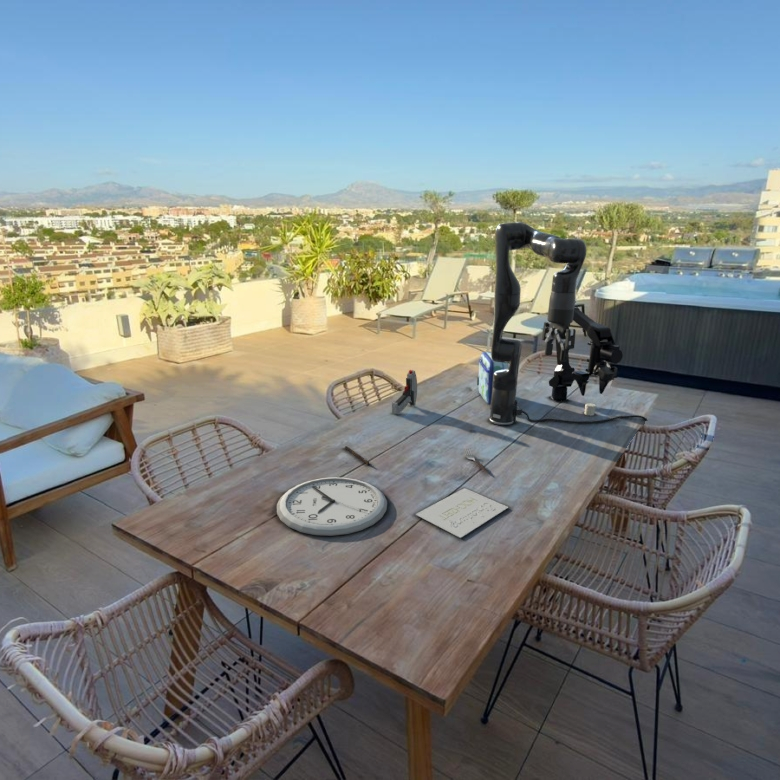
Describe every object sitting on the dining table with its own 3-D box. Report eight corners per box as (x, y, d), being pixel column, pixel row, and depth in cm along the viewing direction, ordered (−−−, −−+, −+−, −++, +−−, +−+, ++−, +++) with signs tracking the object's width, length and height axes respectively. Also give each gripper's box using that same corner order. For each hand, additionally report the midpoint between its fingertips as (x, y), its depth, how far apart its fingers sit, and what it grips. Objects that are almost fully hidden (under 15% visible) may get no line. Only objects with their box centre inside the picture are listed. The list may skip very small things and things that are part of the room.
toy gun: (391, 378, 208) (412, 368, 219) (392, 415, 214) (412, 403, 225) (395, 379, 207) (417, 369, 218) (396, 416, 212) (417, 405, 223)
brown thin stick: (344, 448, 179) (344, 445, 179) (346, 448, 179) (346, 445, 179) (367, 464, 167) (367, 462, 167) (368, 464, 167) (368, 461, 167)
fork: (483, 474, 162) (483, 469, 161) (463, 454, 176) (463, 448, 176) (491, 474, 162) (491, 468, 162) (470, 453, 177) (470, 447, 176)
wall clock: (392, 527, 129) (268, 531, 127) (391, 533, 130) (269, 537, 127) (383, 473, 158) (282, 475, 155) (383, 478, 158) (282, 480, 156)
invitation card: (464, 487, 153) (508, 506, 143) (464, 488, 153) (508, 507, 143) (415, 513, 138) (460, 537, 128) (415, 514, 138) (460, 538, 128)
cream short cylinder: (595, 413, 218) (597, 404, 216) (592, 416, 215) (593, 407, 213) (586, 411, 220) (587, 402, 219) (582, 414, 217) (584, 404, 216)
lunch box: (475, 390, 246) (478, 346, 240) (498, 390, 246) (501, 347, 240) (484, 408, 221) (487, 360, 215) (509, 409, 221) (513, 360, 215)
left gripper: (586, 309, 154) (579, 363, 159) (559, 303, 167) (553, 352, 172) (564, 310, 152) (557, 364, 157) (538, 303, 165) (533, 353, 170)
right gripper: (592, 364, 200) (586, 402, 205) (630, 360, 206) (624, 398, 211) (573, 357, 210) (568, 394, 215) (609, 354, 216) (604, 390, 221)
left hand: (555, 358), depth 165 cm, fingers open, 8 cm apart
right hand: (591, 394), depth 215 cm, fingers open, 9 cm apart
